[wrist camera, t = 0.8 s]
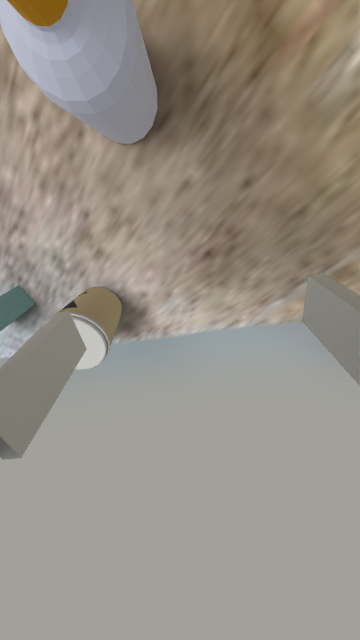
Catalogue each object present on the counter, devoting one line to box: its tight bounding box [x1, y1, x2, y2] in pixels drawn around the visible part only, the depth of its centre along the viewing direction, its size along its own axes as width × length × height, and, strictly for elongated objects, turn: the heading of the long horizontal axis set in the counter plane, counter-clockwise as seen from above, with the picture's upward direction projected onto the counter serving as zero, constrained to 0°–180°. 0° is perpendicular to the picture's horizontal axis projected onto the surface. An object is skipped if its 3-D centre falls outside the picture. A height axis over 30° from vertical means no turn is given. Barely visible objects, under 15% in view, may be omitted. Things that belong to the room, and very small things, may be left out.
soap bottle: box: [0, 0, 158, 144], centre depth 17 cm, size 9×9×24 cm
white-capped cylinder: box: [46, 287, 122, 369], centre depth 36 cm, size 9×9×12 cm
